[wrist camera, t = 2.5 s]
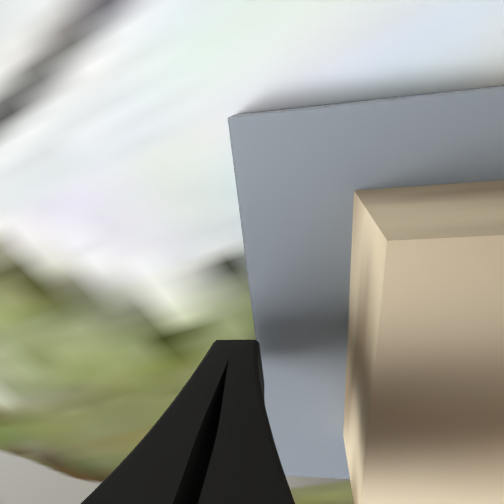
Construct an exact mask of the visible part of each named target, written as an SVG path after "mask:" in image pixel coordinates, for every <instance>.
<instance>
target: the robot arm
mask: <svg viewBox="0 0 504 504" xmlns="http://www.w3.org/2000/svg"><path fill="white" fill-rule="evenodd" d="M81 504H295V503H294V500H293V497H292V494H291V491H290V488H289V485H288V483H287V480H286V477H285V474H284V471H283V468H282V465H281V461H280V458H279V455H278V452H277V449H276V445H275V442H274V438H273V435H272V431H271V427H270V424H269V420H268V416H267V412H266V408H265V400H264V376H263V368H262V360H261V352H260V344H259V342H258V341H256V340H216V341H215V342H214V343H213V345H212V346H211V348H210V349H209V351H208V352H207V354H206V355H205V357H204V359H203V360H202V362H201V363H200V365H199V366H198V368H197V369H196V370H195V372H194V373H193V375H192V376H191V378H190V379H189V380H188V382H187V383H186V385H185V386H184V387H183V389H182V390H181V391H180V393H179V394H178V396H177V397H176V398H175V400H174V401H173V402H172V404H171V405H170V406H169V407H168V409H167V410H166V411H165V412H164V414H163V415H162V416H161V417H160V419H159V420H158V421H157V422H156V424H155V425H154V426H153V427H152V429H151V430H150V431H149V432H148V433H147V434H146V436H145V437H144V438H143V439H142V440H141V441H140V443H139V444H138V445H137V446H136V447H135V448H134V449H133V450H132V452H131V453H130V454H129V455H128V456H127V457H126V458H125V459H124V460H123V461H122V462H121V464H120V465H119V466H118V467H117V468H116V469H115V470H114V471H113V472H112V473H111V474H110V475H109V476H108V477H107V478H106V479H105V480H104V481H103V482H102V483H101V484H100V485H99V486H98V487H97V488H96V489H95V490H94V491H93V492H92V493H91V494H90V495H89V496H88V497H87V498H86V499H85V500H84V501H83V502H82V503H81Z"/></svg>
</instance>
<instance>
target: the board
mask: <svg viewBox="0 0 504 504" xmlns="http://www.w3.org/2000/svg"><path fill="white" fill-rule="evenodd" d="M228 124H229V132H230V140H231V148H232V155H233V163H234V171H235V179H236V187H237V195H238V202H239V210H240V218H241V226H242V234H243V242H244V249H245V257H246V265H247V273H248V281H249V289H250V296H251V304H252V312H253V320H254V328H255V336H256V341H258V342H259V344H260V352H261V360H262V368H263V376H264V400H265V408H266V412H267V416H268V420H269V424H270V427H271V431H272V435H273V438H274V442H275V445H276V449H277V452H278V455H279V458H280V461H281V465H282V468H283V471H284V474H285V476H303V477H322V478H323V477H324V478H342V479H350V475H349V469H348V463H347V456H346V450H345V444H344V438H343V429H344V406H345V383H346V361H347V338H348V315H349V293H350V270H351V247H352V225H353V202H354V191H355V190H370V189H384V188H398V187H412V186H426V185H440V184H454V183H468V182H483V181H497V180H504V86H495V87H486V88H477V89H467V90H458V91H449V92H439V93H430V94H421V95H412V96H402V97H393V98H384V99H375V100H365V101H356V102H347V103H338V104H328V105H319V106H310V107H300V108H291V109H282V110H273V111H263V112H254V113H245V114H236V115H233V116H231V117H229V118H228Z"/></svg>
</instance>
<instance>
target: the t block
mask: <svg viewBox="0 0 504 504" xmlns="http://www.w3.org/2000/svg"><path fill="white" fill-rule="evenodd" d="M343 438H344V444H345V450H346V456H347V463H348V469H349V475H350V481H351V487H352V494H353V500H354V504H504V180H497V181H483V182H468V183H454V184H440V185H426V186H412V187H398V188H384V189H370V190H355V191H354V202H353V225H352V247H351V270H350V293H349V315H348V338H347V361H346V383H345V406H344V429H343Z"/></svg>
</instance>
